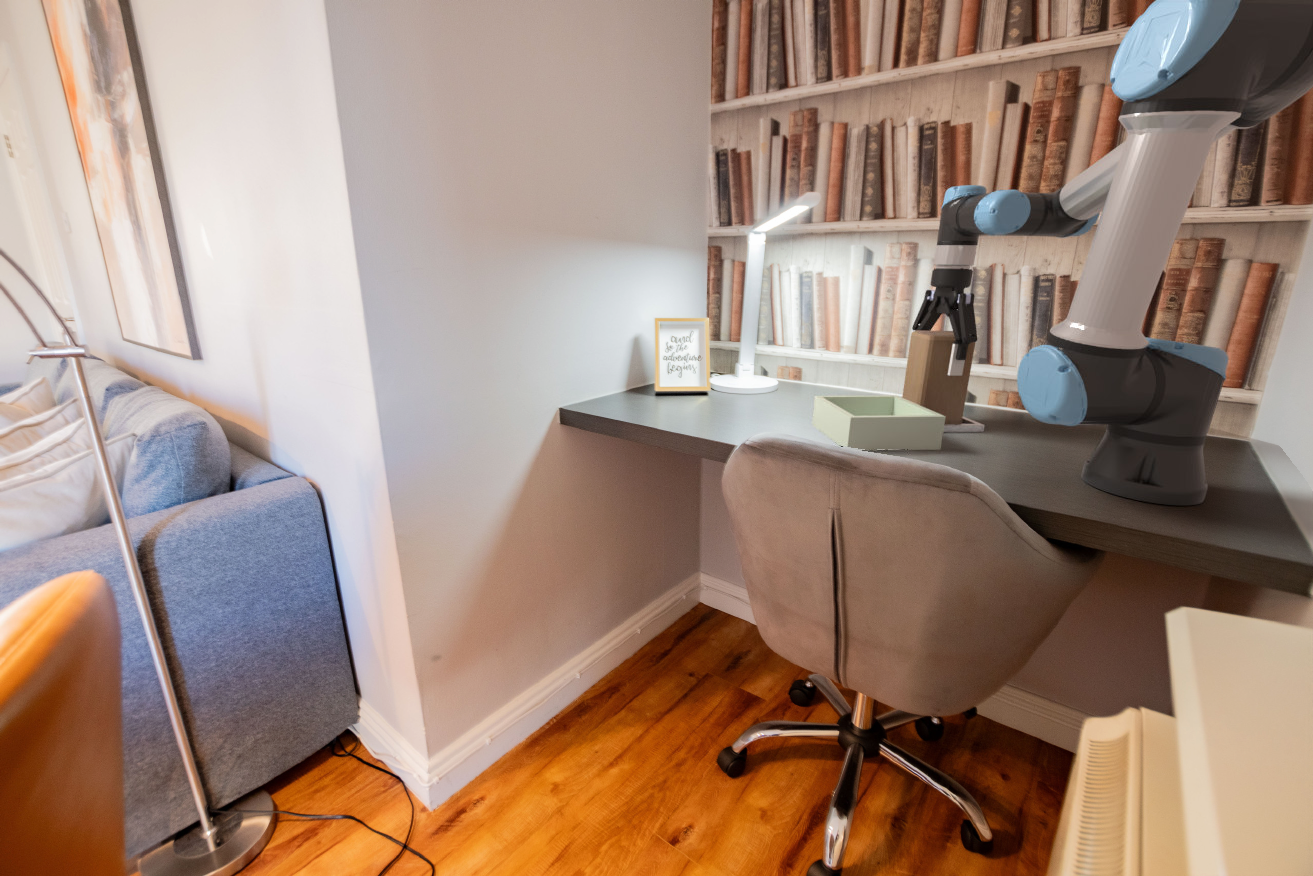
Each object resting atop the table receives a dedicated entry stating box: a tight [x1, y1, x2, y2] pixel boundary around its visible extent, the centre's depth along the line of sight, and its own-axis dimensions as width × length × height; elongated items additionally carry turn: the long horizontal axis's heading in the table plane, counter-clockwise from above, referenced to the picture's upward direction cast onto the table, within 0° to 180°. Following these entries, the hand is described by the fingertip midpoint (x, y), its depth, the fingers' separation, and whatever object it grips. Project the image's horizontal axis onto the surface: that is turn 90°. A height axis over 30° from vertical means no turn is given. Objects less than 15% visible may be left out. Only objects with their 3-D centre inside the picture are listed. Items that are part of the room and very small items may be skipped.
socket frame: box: [943, 416, 986, 434], centre depth 127 cm, size 15×15×2 cm
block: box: [902, 330, 976, 424], centre depth 125 cm, size 10×10×20 cm
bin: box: [812, 394, 946, 452], centre depth 115 cm, size 18×18×6 cm
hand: (936, 369), depth 124 cm, fingers open, 13 cm apart
